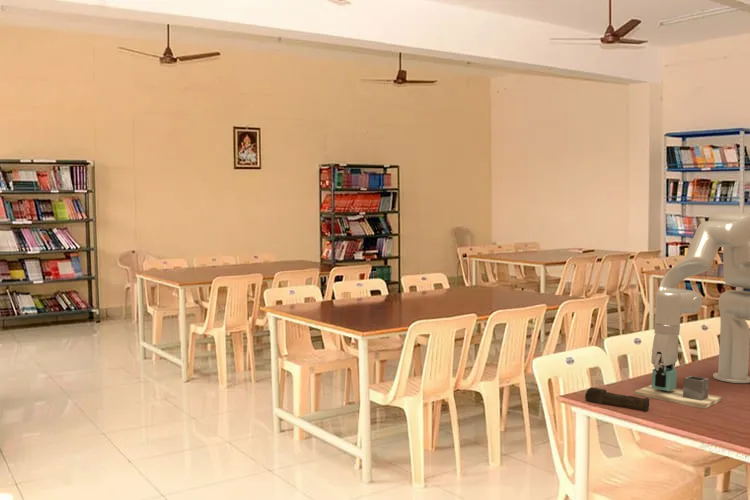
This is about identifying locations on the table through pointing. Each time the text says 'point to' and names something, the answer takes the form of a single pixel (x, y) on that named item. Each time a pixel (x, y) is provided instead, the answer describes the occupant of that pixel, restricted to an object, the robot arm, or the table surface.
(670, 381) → the teal wall cubby
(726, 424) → the table surface
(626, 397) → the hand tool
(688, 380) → the seat plate
